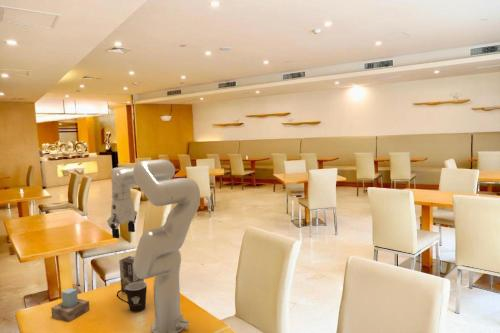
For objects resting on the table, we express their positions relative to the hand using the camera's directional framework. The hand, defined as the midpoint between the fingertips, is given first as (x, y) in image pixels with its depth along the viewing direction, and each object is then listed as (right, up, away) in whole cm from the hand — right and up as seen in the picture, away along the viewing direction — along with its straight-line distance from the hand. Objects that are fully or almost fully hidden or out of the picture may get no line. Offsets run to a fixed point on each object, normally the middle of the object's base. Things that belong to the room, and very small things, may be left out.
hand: (123, 234), depth 159 cm
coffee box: (0, -30, +12) cm, 32 cm away
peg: (-20, -32, -7) cm, 38 cm away
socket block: (-20, -32, -7) cm, 38 cm away
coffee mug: (+6, -31, -3) cm, 32 cm away
